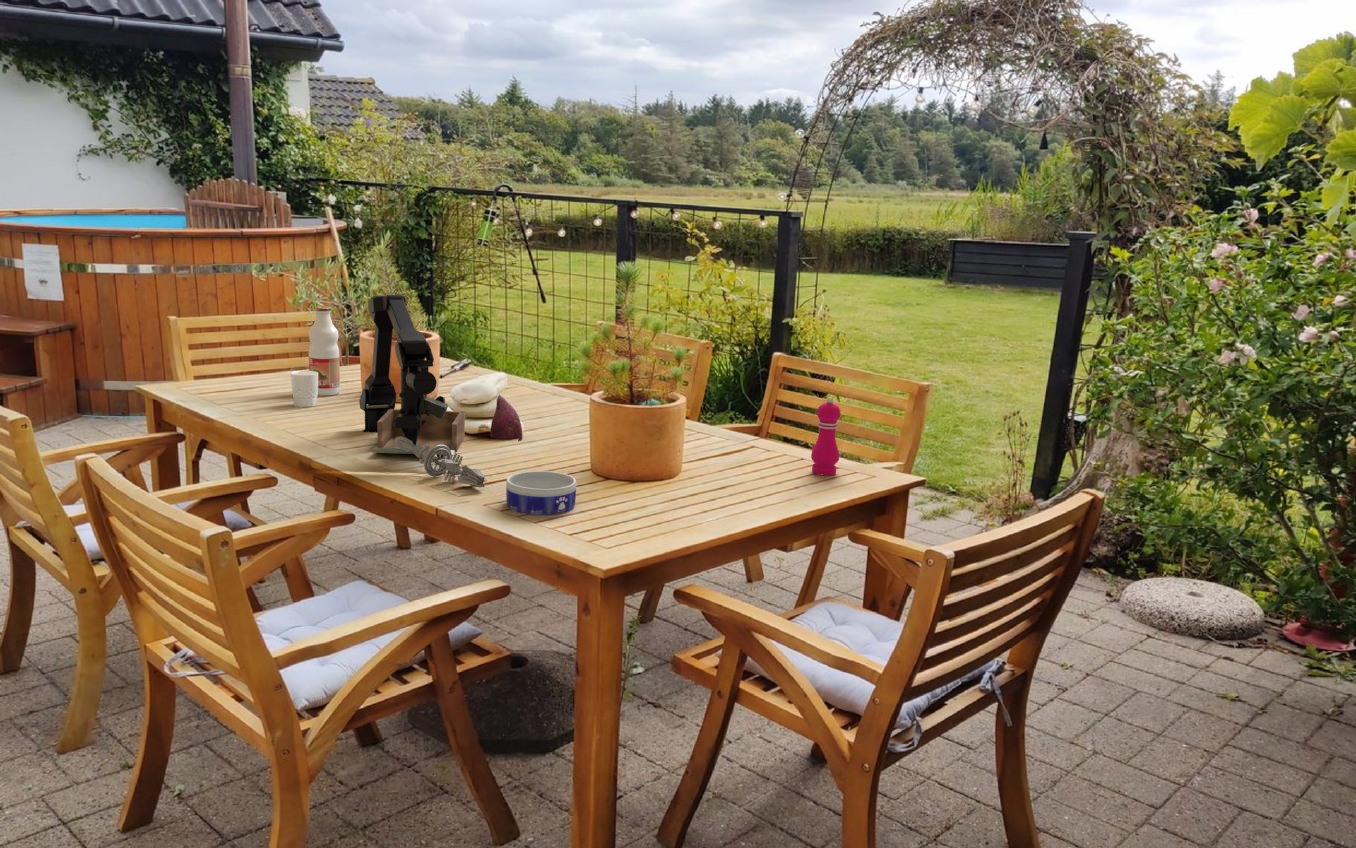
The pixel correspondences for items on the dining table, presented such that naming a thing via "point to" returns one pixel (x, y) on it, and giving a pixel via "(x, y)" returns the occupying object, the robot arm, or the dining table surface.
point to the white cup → (305, 388)
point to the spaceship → (442, 463)
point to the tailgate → (398, 451)
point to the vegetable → (505, 422)
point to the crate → (425, 430)
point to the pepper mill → (826, 439)
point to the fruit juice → (325, 352)
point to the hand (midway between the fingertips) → (413, 449)
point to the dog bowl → (540, 492)
